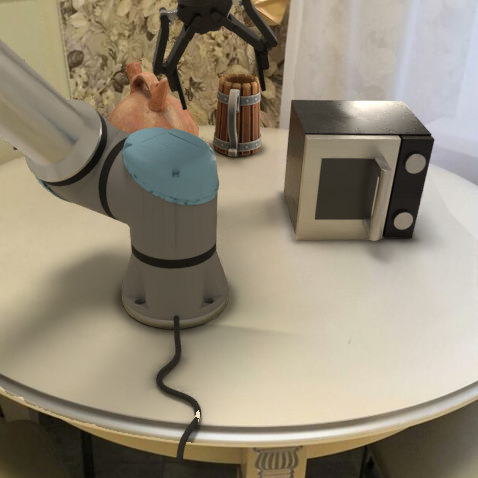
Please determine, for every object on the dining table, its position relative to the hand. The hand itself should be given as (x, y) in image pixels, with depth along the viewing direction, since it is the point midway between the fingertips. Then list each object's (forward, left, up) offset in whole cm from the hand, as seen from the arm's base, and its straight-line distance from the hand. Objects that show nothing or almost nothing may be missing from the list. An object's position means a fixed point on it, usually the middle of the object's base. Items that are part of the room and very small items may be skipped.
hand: (223, 96), depth 105 cm
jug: (+13, +13, -19) cm, 27 cm away
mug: (+22, -4, -19) cm, 30 cm away
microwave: (-7, -22, -19) cm, 30 cm away
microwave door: (-17, -19, -19) cm, 32 cm away
